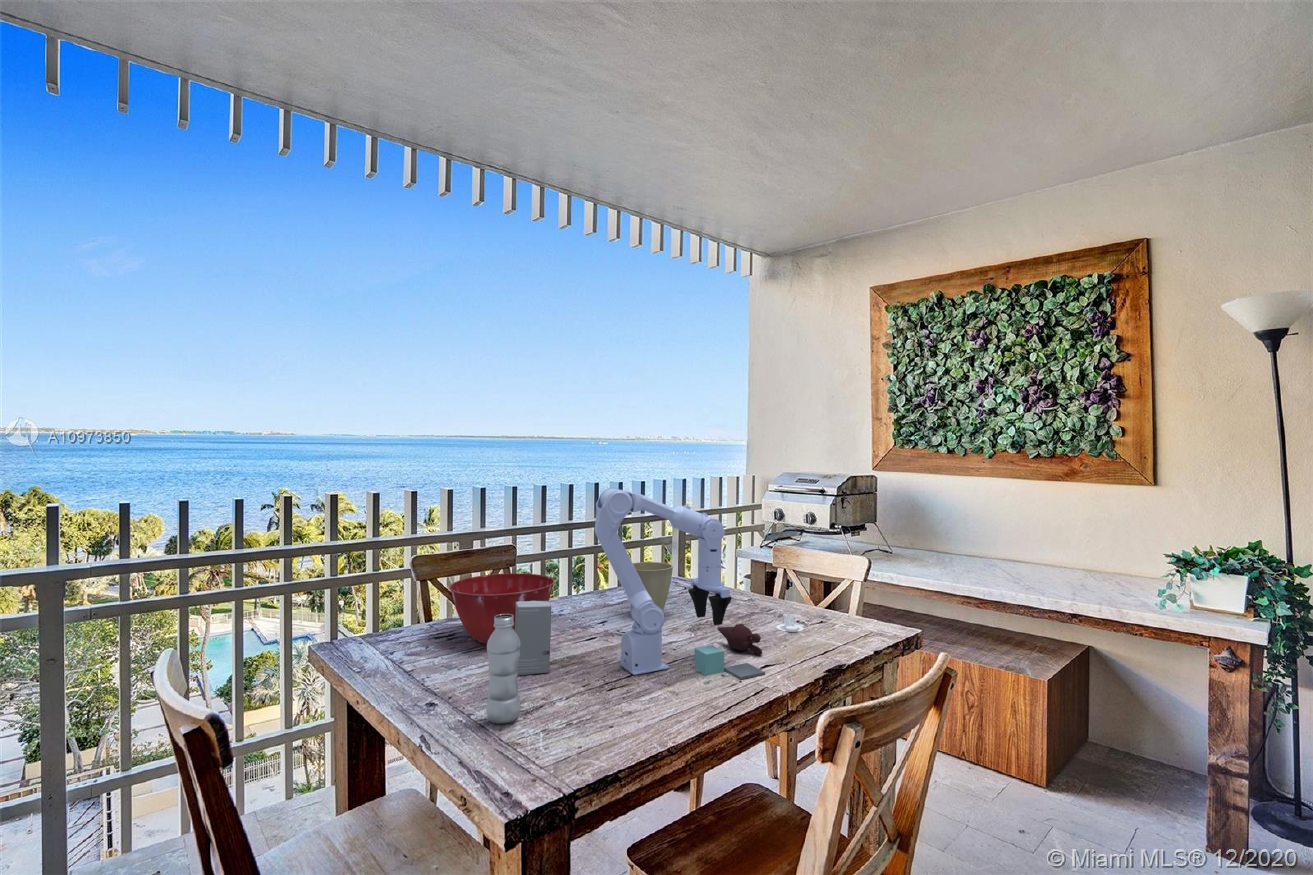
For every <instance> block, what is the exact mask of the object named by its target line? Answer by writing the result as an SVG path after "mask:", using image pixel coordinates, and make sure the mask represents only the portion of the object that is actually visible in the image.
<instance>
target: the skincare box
mask: <svg viewBox="0 0 1313 875" xmlns="http://www.w3.org/2000/svg"><path fill="white" fill-rule="evenodd" d="M551 627H552V605H551V602H550V600H549V601H519V602H516V616H515V632H516V634H517V635H518V637H519V639H520V652H519V659H518V670H517V677H519V676H526V675H527V676H529V675H536V674H548V673H550V670H551V668H550V667H551V666H550V664H551V663H550V660H551V637H552V636H551V633H552V632H551V631H552V630H551V629H552V628H551Z"/></svg>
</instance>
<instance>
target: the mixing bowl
mask: <svg viewBox="0 0 1313 875" xmlns="http://www.w3.org/2000/svg"><path fill="white" fill-rule="evenodd" d="M555 582H556V580H555V579H554V578H553V577H551V576H548V575H543V574H538V573H537V574H536V573H522V572H521V573H517V572H515V573H514V572H513V573H512V572H511V573H493V574H485V575H477V576H473V577H472V576H471V577H467V578H464V579H463V578H462V579H460V580H456V581H454V582H453V583H451V584H450V585H449V588H448V589H449V590H450V593H451V597H452V600H453V601H452V602H453V603H454V604H453V605H454V608H455V609H456V614H457V616H458V617H459V620H460V622H461V625H462V626H463V628H464V629H465V631H466V633H467V634H468V635H469V636H470V637H471V638H472V639H473V640H475V641H478V643H480V644H483V645H487V642H488V640H489V638H490V636H491V634H492V633H493V632H494V630H495V627H494V618H495V616H496V615H500V614H512V615H513V622H514V626H513V627H512V628H513V630H514V631H515V616H516V602H519V601H549V602H550V598H551V595H552V591H553V588H554V587H553V586H554V585H555Z"/></svg>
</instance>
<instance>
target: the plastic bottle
mask: <svg viewBox="0 0 1313 875" xmlns="http://www.w3.org/2000/svg"><path fill="white" fill-rule="evenodd" d="M513 626H514V622H513V615H512V614H500V615H496V616H495V618H494V627H495V630H494V632H493V633H492V634H491V636H490V638H489V640H488V642H487V644H486V651H487V652H486V653H487V659H488V668H489V669H488V672H489V683H488V694H487V695H488V696H487V698H486V699H487V700H486V704H485V705H486V706H485V711H486V717H487V719H488V720H489V721H490V722H491V723H493V724H496V725H497V724H498V725H499V724H500V725H503V724H508V723H512V722H513V721H515V720H516V719H517V718H518V716H519V715H520V711H521V710H520V709H521V698H520V695H519V686H518V676H517V670H518V659H519V652H520V639H519V637H518V635H517V634H516V632H515V631H514V630H513V628H512V627H513Z"/></svg>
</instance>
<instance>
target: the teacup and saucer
mask: <svg viewBox="0 0 1313 875" xmlns="http://www.w3.org/2000/svg"><path fill="white" fill-rule="evenodd" d="M783 618H784V619H783V620H784V623H781V624H778V625H776V626H775V628H776V629H777V630H779V631H782V632H787V633H798V632H803V631H804V630H805V629H804V627H803V626H801V625H799V624H795V621H796V616H795V615H794V614H790V613H786V614H784V615H783ZM781 627H784V629H782V628H781Z"/></svg>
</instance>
